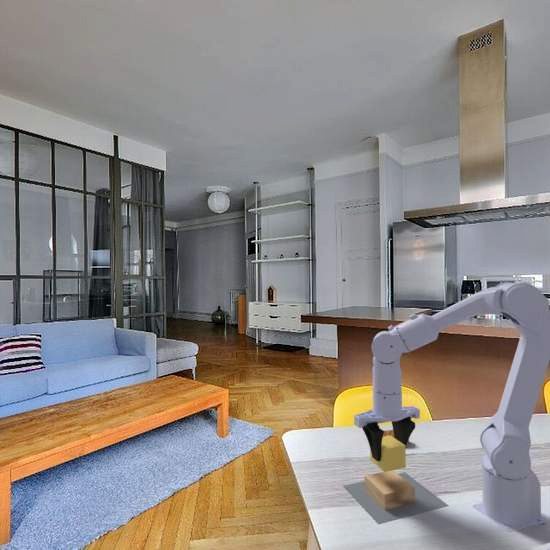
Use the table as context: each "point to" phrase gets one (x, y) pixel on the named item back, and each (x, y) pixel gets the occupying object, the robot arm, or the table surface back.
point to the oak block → (389, 489)
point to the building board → (422, 504)
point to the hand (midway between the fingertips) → (388, 456)
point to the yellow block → (391, 454)
